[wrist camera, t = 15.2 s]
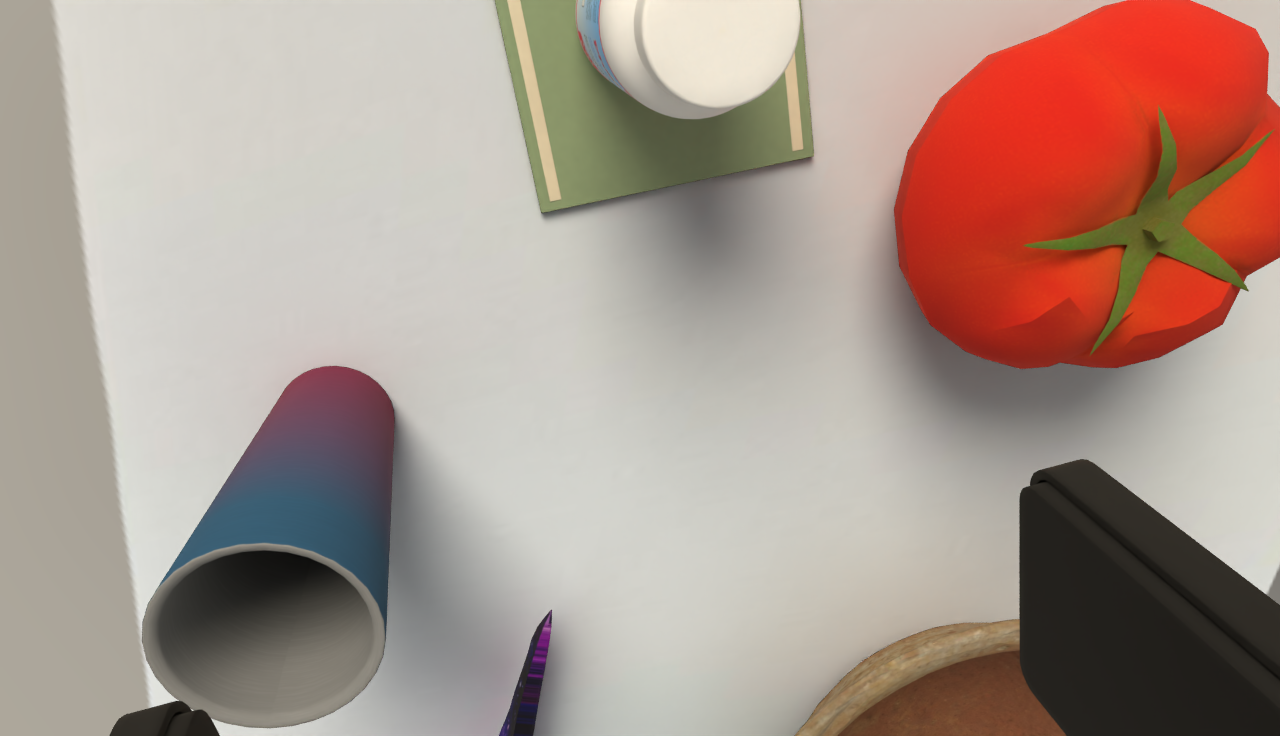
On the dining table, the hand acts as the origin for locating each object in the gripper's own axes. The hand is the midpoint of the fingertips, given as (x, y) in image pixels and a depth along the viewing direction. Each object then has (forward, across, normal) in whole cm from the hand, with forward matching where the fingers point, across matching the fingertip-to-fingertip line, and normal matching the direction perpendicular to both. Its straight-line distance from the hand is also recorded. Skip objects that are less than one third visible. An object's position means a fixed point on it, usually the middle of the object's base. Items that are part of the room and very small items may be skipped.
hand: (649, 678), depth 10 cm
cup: (+30, +10, +9) cm, 33 cm away
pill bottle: (+30, -7, -5) cm, 31 cm away
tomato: (+30, -23, +5) cm, 38 cm away
